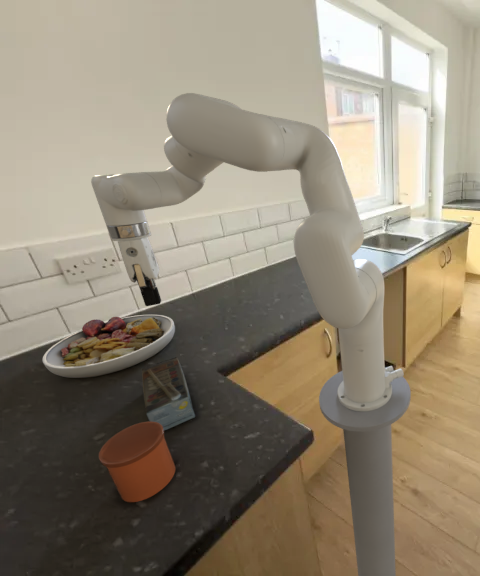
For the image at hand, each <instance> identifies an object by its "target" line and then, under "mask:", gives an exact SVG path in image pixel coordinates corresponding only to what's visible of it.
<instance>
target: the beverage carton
mask: <svg viewBox="0 0 480 576" xmlns="http://www.w3.org/2000/svg"><path fill="white" fill-rule="evenodd" d="M141 379H142V391H143V400H144V406H145V415H146V417H147V420H148V421H147V422H149V421H153V422H158V423H160V424H161V425H162V426H163V429H164V431H167V430H169V429H172V428H173V427H176V426H178V425H181V424H182V423H185V422H187V421H189V420H192V419H194V418H195V417H196V414H195V411H194V407H193V403H192V399H191V395H190V391H189V387H188V384H187V380H186V376H185V374H184V371H183V368H182V365H181V363H180V360H179V358H178V357H177V356H175V357H172V358H170V359H167V360H165V361H159V362H157V363H154V364H152V365H149V366H145V367H142V368H141Z"/></svg>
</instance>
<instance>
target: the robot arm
mask: <svg viewBox="0 0 480 576" xmlns="http://www.w3.org/2000/svg"><path fill="white" fill-rule="evenodd" d="M165 116H166V119H165V120H166V121H165V122H166V125H167V128H168V131H169V133H170V135H169V136H168V137H167V138H166V139H165V141H164V144H163V151H164V154H165V157H166V159H167V160H168V162H169V163H170V165H171V166H170V167H168V168H167V169H164V170H162V171H161V170H160V171H139V172H123V173H109V174H107V173H106V174H97V175H94V176H92V178H91V180H90V182H91V186H92V190H93V192H94V195H95V198H96V201H97V204H98V206H99V209H100V213H101V214H102V217H103V221H104V223H105V225H106V229H107V232H108V234H109V237H110V240H111V241H112V242H117V244H118V247H119V251H120V255H121V258H122V262H123V264H124V268H125V269H126V273H127V276H128V278H129V280H130V282H131V283H134V284H135V283H137V286H138V288H139V291H140V294H141V297H142V300H143V303H144V306H145V307H151V306H156V305H161V303H162V298H161V295H160V292H159V288H158V286H157V284H156V279H157V278H158V276H159V273H160V266H159V264H158V261H157V258H156V255H155V252H154V249H153V246H152V244H151V241H150V239H149V237H151V236H152V232H151V228H150V226H149V222H148V219H147V216H146V212H145V211H146V210H152V209H158V208H164V207H171V206H177V205H179V204H182V203H184V202H186V201H187V200H188V199H190V198H192V197H193V196H194V195H195V194H197V193H198V192H200V191H201V190H202V188H203V187H204V185H205V183H206V180H207V175H209V174H211V172H213V171H214V170H215V169H217V168H218V167H219V166H220V165H222V164H223V163H225V164H228V165H231V166H233V167H237V168H240V169H244V170H247V171H251V172H257V173H260V172H261V173H263V172H264V173H267V172H279V171H287V170H288V171H290V170H291V171H292V170H296V171H298V172H299V175H300V176H299V177H300V179H299V181H300V190H301V193H302V196H303V199H304V202H305V204H306V206H307V210H308V214H309V216H307V217H306V218H304V219H303V220H302V221H301V222H300V223H299V224H298V226H297V227H296V229H295V232H294V236H293V237H294V238H293V248H294V255H295V258H296V262H297V264H298V267H299V269H300V271H301V274H302V276H303V279H304V281H305V282H304V283H305V284H306V287H307V289H308V292H309V294H310V297H311V299H312V303H313V304H314V307H315V309H316V311H317V312H318V314H319V315H320V317H321V318H322V319H323V320H324V321H325V322H326V323H327V324H328V325H329V326H331V327H333V328H335V329H338V339H339V351H340V361H341V371H342V372H343V381H342V382H341V384H340V385H339V387H338V391H337V392H338V399H339V401H340V403H341V404H342V405H343V406H345V407H346V408H348V409H350V410H354V411H361V412H362V411H371V410H375V409H378V408H380V407H382V406H383V405H385V404H386V403H387V402H388V401H389V399H390V398H391V395H392V385H391V382H392V381H393V379H397V378H400V377H402V376H403V377H404V376H405V374H404V370H403V369H402V368H398V369H394V367H393V365H390V366H386V365H385V340H384V338H385V337H384V335H385V333H384V307H385V306H384V305H385V279H384V278H385V277H384V275H383V273H382V271H381V270H380V267H378V265H377V264H376V263H374V262H373V261H371V260H369V259H364V258H357V259H353V255H354V254H356V253H357V252H358V251H359V249H360V248H361V247H362V245H363V243H364V239H365V231H364V227H363V224H362V221H361V219H360V215H359V212H358V209H357V206H356V203H355V200H354V197H353V194H352V191H351V188H350V185H349V182H348V179H347V177H346V174H345V173H346V172H345V170H344V167H343V163H342V160H341V157H340V155H339V151H338V150H337V146H336V145H335V143H334V142H333V140H332V139H331V138H330V136H329V135H328V134H327V133H325V131H323V130H322V129H320V128H319V127H317V126H315V125H313V124H309V123H306V122H302V121H298V120H292V119H287V118H284V117H276V116H273V115H272V116H271V115H267V114H263V113H258V112H254V111H249V110H245V109H242V108H241V107H240V106H238V105H237V104H234V103H233V102H231V101H228V100H226V99H225V100H224V99H220V98H217V97H213V96H209V95H204V94H200V93H195V92H186V93H182V94H179V95H177V96H176V97H175V98H174V99H172V101H171V102H170V103H169V105H168V107H167V110H166V114H165ZM385 367H386V368H385ZM393 370H394V371H393ZM392 371H393V372H392ZM390 372H391V373H390Z"/></svg>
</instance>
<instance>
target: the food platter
mask: <svg viewBox="0 0 480 576" xmlns="http://www.w3.org/2000/svg"><path fill="white" fill-rule="evenodd" d="M175 332H176V325H175V322H174V320H173V319H172V318H171V317H170V316H166V315H163V314H140V315H132V316H131V315H130V316H126V317H120V316H113V317H111V318H109V319H108V321H105V322H104V320H101V319H91V320H89V321H88V322H86V323H84V324H83V325H82V328H81V330H79V331H77V332H75V333H73V334H70V335H68V336H67V337H64V338H62V339H61V340H58V342H56V343H54V344H53V345H52V346H51V347H49V348H48V349H47V351H46V352H44V354H43V356H42V363H43V365H44V367H45V369H47V371H49V372H50V373H52V374H53V375H55V376H58V377H63V378H70V379H86V378H94V377H100V376H104V375H108V374H112V373H115V372H120V371H123V370H126V369H128V368H131V367H133V366H135V365H138V364H141V363H142V362H144V361H146V360H148V359H150V358H152V357H154V356H155V355H157V354H158V353H160V352H161V351H162V350H163V349H165V347H167V346H168V345H169V343H170V342H171V341H172V339H173V337H174V336H175Z"/></svg>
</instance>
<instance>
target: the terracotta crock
mask: <svg viewBox="0 0 480 576" xmlns="http://www.w3.org/2000/svg"><path fill="white" fill-rule="evenodd" d="M98 460H99V461H100V464H101V465H102V466H103V467H105V468H106V470H107V472H108V474H109V476H110V478H111V480H112V482H113V484H114V486H115V488H116V490H117V491H118V494H119V497H120V498H121V500H123V501H124V502H127V503H137V502H138V503H139V502H141V501H145V500H147V499H150V498H151V497H153V496H155V495H157V494H158V493H159V492H160V491H162V490H163V489H164V488H165V487H166V486H167V485H168V484H169V483H170V482H171V481H172V479H173V478H174V476H175V473H176V464H175V461H174V458H173V456H172V453H171V450H170V448H169V445H168V443H167V440H166V437H165V430H164V429H163V426H162V425H161V424H160V423H158V422H153V421H141V422H139V423H138V422H137V423H135V424H133V425H130V426H127V427H126V428H124V429H122V430H120V431H119V432H116V433H115V434H114V435H113V436H111V437H110V438H109V439H108V440H107V441H106V442H105V443H104V444H103V445H102V447H101V448H100V450H99V452H98Z"/></svg>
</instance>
